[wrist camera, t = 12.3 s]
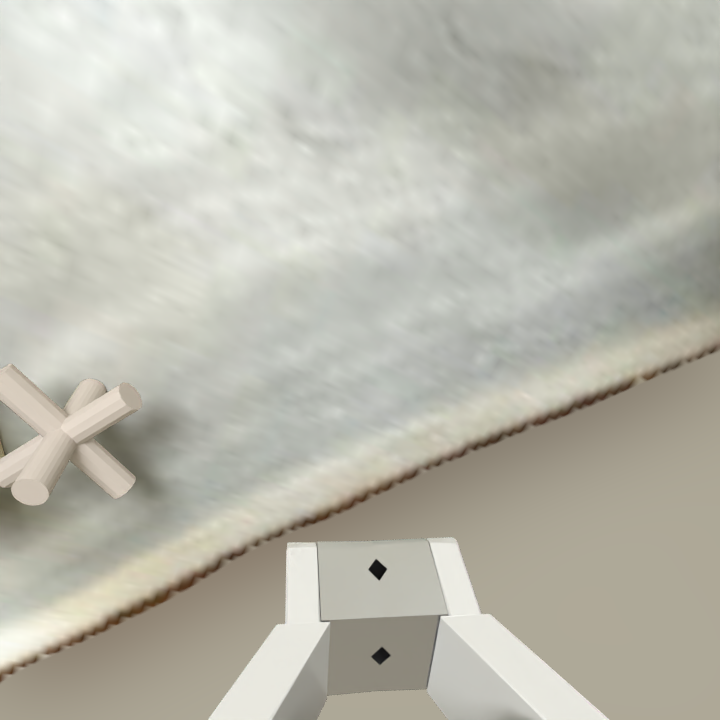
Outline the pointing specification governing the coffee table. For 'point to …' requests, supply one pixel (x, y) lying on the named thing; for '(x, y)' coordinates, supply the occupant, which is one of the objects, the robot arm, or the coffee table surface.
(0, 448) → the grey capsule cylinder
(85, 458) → the pipe connector
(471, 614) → the robot arm
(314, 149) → the coffee table surface
